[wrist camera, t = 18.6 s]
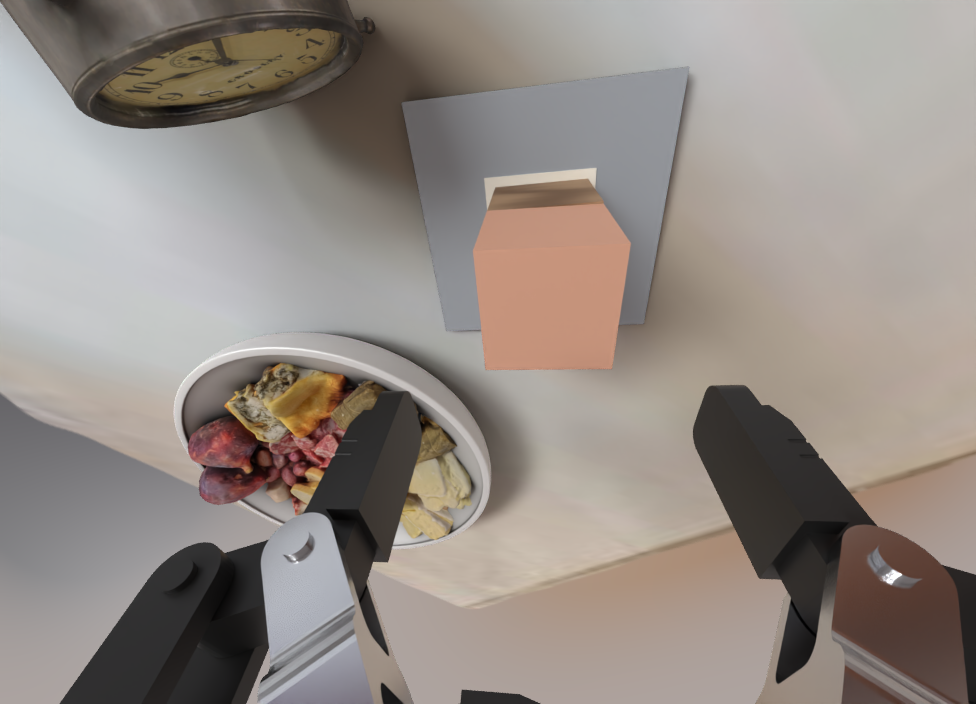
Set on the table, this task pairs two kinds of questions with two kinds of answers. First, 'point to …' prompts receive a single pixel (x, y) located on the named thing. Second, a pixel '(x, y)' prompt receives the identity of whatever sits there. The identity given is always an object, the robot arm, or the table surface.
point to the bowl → (324, 429)
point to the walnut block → (545, 195)
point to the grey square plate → (545, 167)
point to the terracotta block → (550, 287)
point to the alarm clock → (189, 54)
